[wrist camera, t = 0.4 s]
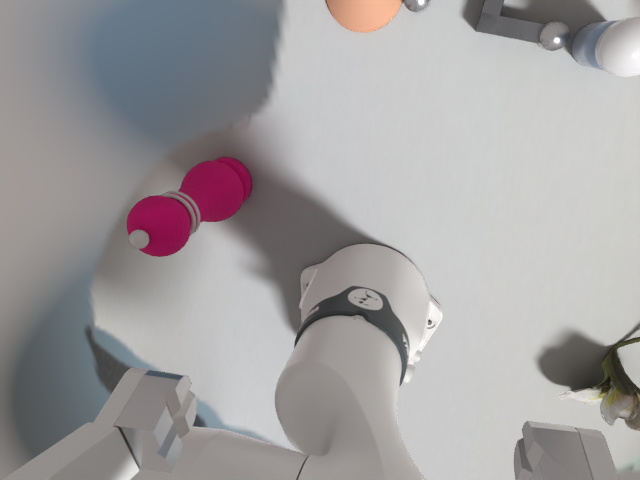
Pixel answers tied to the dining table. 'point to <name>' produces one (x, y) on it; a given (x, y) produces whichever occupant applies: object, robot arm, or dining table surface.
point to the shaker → (610, 46)
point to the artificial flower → (613, 391)
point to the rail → (511, 25)
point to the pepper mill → (188, 206)
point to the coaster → (363, 13)
